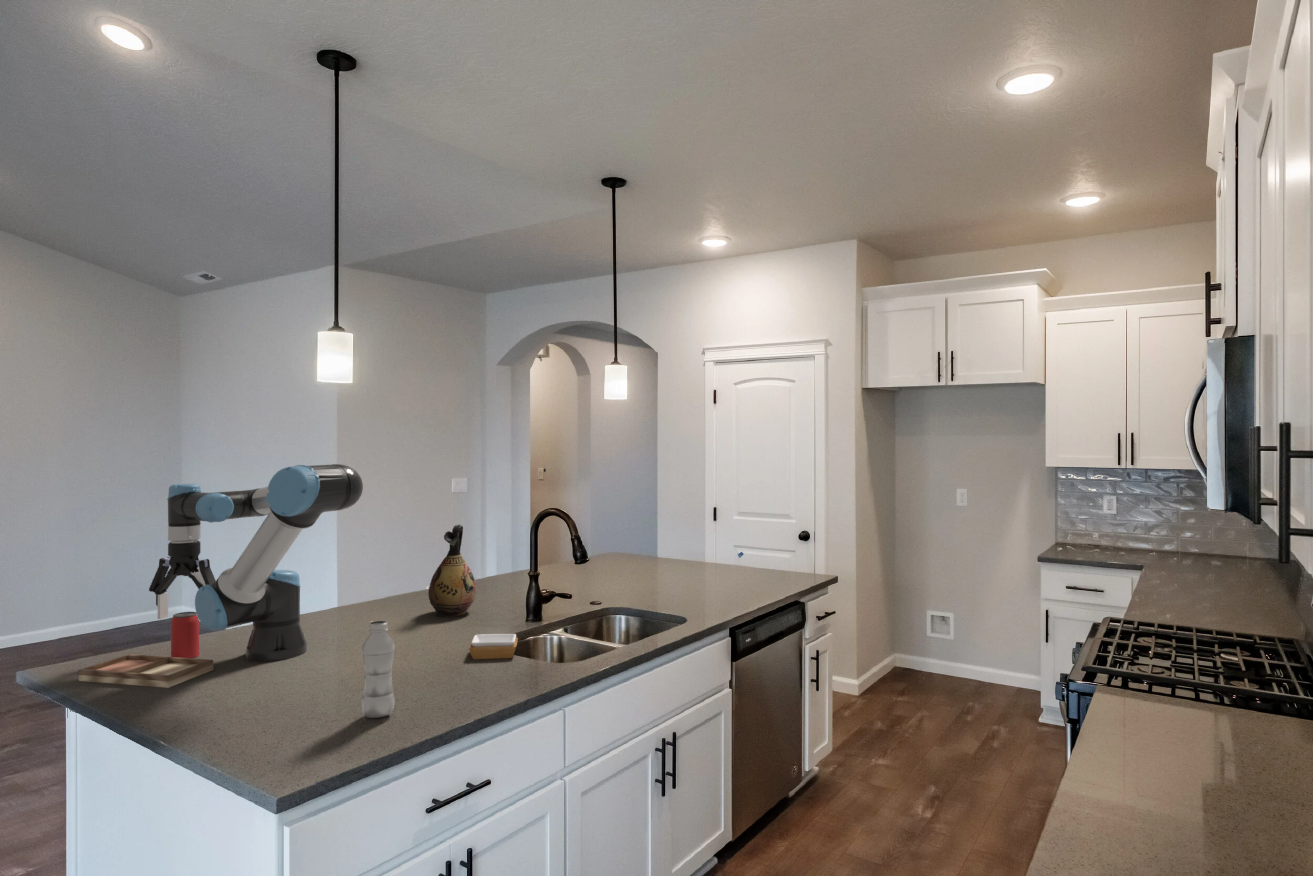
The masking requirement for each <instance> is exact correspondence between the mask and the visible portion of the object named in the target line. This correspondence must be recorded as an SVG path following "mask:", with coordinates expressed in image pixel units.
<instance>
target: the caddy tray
mask: <svg viewBox="0 0 1313 876" xmlns="http://www.w3.org/2000/svg"><path fill="white" fill-rule="evenodd" d="M211 671H214V659H203V658H178V657H171V656H160V655H147V654H143V655H142V654H132V653H131V654H124V655H122V656H119V657H116V658H112V659H109V660H106V661H103V662H100V663H97V664H93V665H91V666H88V667H87V666H86V667H84V668H81V669H79V670H78V681H79V682H89V683H90V682H92V683H100V684H101V683H103V684H113V685H114V684H116V685H117V684H118V685H128V686H141V687H143V686H144V687H153V688H154V687H155V688H167V689H168V688H171V687H174V686H176V685H178V684H181V683H184V682H186V681H188V680H189V681H190V680H191V679H194V678H197V677H199V676H201V675H203V674H206V673H209V672H211Z"/></svg>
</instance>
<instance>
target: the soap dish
mask: <svg viewBox="0 0 1313 876" xmlns="http://www.w3.org/2000/svg"><path fill="white" fill-rule="evenodd" d="M518 640H519V637H517V634H516V633H487V634H486V633H481V634H480V633H479V634H475V635H474V636H473V637H472V640H471V643H470V644H469V647H468V650H469V653H470V655H471V657H472V660H482V659H483V660H490V659H491V660H492V659H493V660H494V659H509V658H510V659H512V658H513V657H514V654H515V651H516V648H517V646H518Z"/></svg>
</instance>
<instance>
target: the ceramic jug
mask: <svg viewBox="0 0 1313 876" xmlns="http://www.w3.org/2000/svg"><path fill="white" fill-rule="evenodd" d="M444 533H445V534H444V535H443V539H444V541H445V542H447V543H448V544H449V550H448V551H447V554H446V556H445V557H444V558H443V560H442V561H441V563H440V564H439V565H438V567H437V568H436V569H435V571H434V573H433V575H432V577H431V579H430V584H429V587H428V592H427V594H428V600H429V604H430V605H431V607H432V608H433V609H434V611H435V612H436V615H437V616H438V617H444V618H445V617H446V618H447V617H449V618H451V617H459V616H463V615H465V614H466V613H467V611H468V610H469V609H470V607H471V606H472V605H473V603H474V602H475V600H476V599H475V598H476V596H477V583H476V579H475V577H474V574H473V572H472V569H470V566H469V565H468V563H467V562H466V560H465V558H464V557H463V556H462V554H461V547H462V541H463V540H462V539H463V535H464V534H463V533H464V526H463V525H461V524H457V525H454V526H453V527H452V531H450V530H449V531H446V532H444Z"/></svg>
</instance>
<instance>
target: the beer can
mask: <svg viewBox="0 0 1313 876" xmlns="http://www.w3.org/2000/svg"><path fill="white" fill-rule="evenodd" d="M197 656H198V657H199V656H200V620H199V618H198V616H197V613H196V611H184V612H183V611H182V612H177V613H174V614H172V618H171V621H170V657H178V658H193V659H197Z"/></svg>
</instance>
